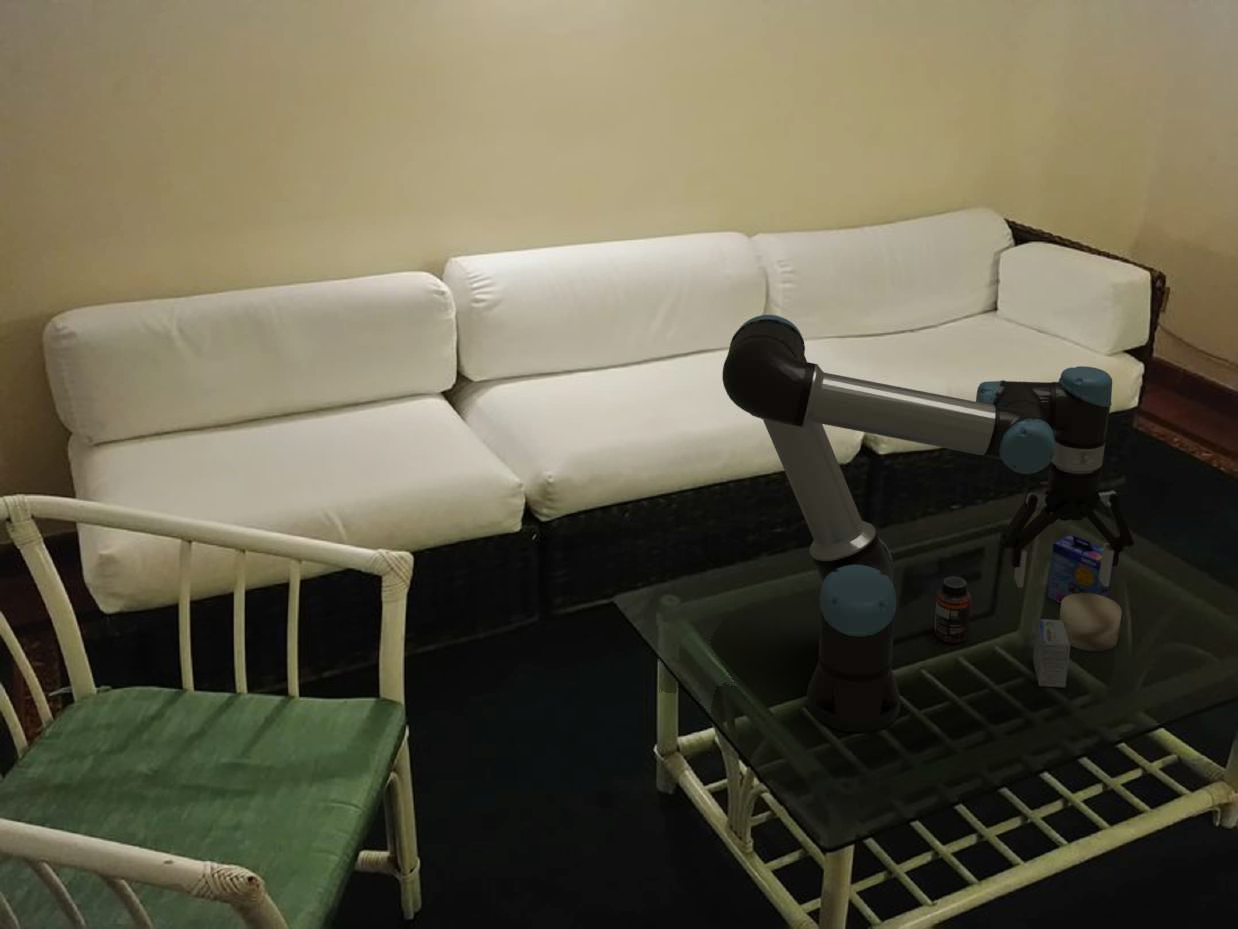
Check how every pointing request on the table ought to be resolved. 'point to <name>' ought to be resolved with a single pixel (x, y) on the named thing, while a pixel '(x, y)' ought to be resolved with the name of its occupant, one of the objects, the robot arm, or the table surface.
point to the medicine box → (1051, 653)
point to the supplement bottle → (953, 611)
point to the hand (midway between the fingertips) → (1061, 582)
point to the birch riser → (1091, 621)
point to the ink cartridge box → (1076, 569)
